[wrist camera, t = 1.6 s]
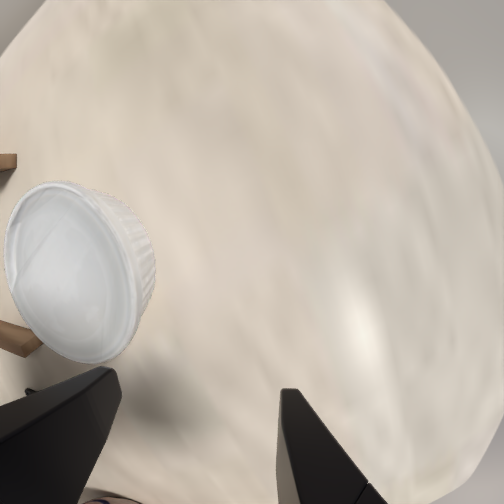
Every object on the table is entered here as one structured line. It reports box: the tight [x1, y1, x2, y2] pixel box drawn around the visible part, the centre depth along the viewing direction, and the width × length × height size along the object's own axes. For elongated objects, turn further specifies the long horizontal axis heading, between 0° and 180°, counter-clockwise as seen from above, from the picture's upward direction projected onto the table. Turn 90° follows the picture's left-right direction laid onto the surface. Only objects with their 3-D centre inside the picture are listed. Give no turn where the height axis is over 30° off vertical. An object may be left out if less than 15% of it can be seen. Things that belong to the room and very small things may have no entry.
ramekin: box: [4, 181, 156, 364], centre depth 17 cm, size 11×11×5 cm
